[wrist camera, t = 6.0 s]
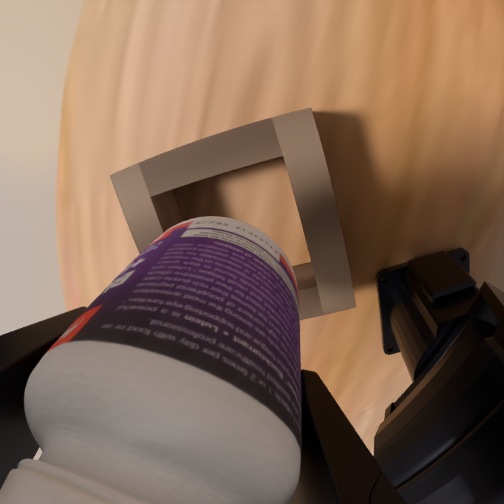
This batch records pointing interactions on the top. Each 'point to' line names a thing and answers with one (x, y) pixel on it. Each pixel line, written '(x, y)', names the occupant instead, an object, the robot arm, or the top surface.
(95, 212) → the top surface
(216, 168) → the socket
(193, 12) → the top surface
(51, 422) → the pill bottle
